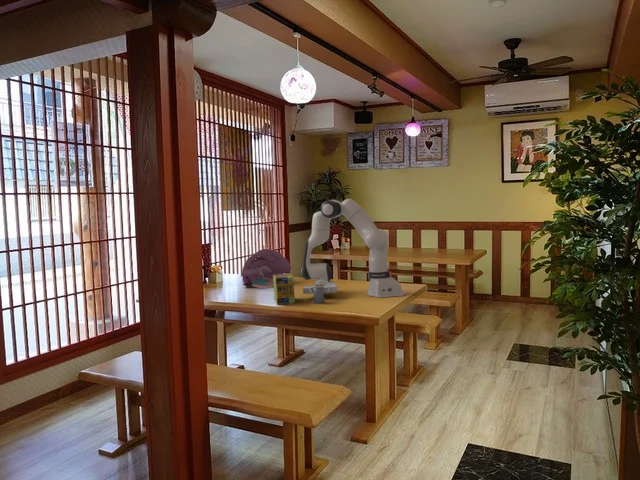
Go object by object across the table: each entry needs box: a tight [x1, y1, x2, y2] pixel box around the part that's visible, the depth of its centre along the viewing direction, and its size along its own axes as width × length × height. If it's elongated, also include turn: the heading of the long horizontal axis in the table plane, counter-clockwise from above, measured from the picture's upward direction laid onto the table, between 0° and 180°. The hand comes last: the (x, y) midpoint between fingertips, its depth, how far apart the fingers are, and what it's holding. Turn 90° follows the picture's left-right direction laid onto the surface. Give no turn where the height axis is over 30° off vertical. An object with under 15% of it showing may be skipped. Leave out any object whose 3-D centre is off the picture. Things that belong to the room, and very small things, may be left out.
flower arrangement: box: [240, 248, 292, 289], centre depth 348 cm, size 35×24×28 cm
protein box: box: [273, 273, 296, 306], centre depth 291 cm, size 10×15×16 cm
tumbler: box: [312, 284, 325, 305], centre depth 284 cm, size 6×6×10 cm
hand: (319, 291), depth 287 cm, fingers open, 8 cm apart
